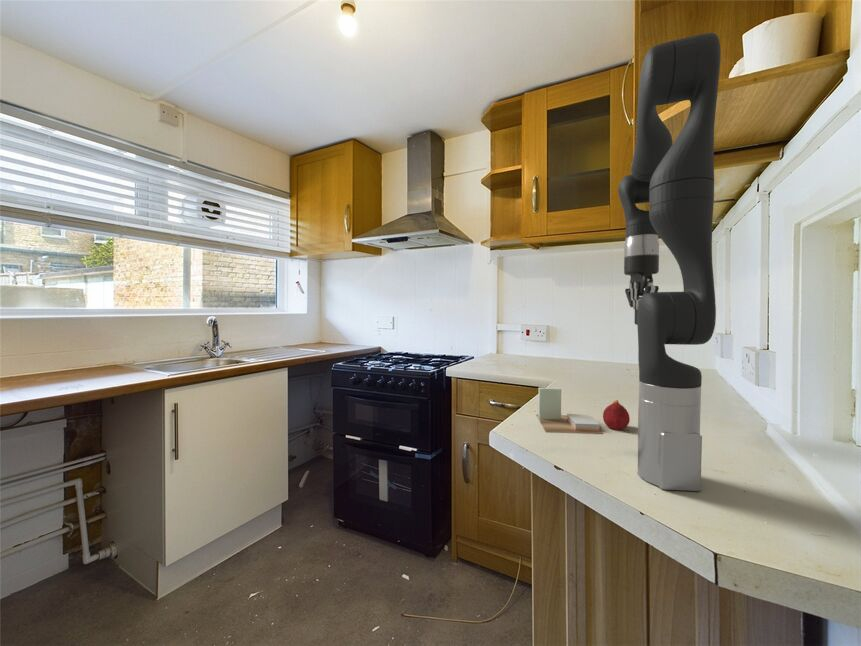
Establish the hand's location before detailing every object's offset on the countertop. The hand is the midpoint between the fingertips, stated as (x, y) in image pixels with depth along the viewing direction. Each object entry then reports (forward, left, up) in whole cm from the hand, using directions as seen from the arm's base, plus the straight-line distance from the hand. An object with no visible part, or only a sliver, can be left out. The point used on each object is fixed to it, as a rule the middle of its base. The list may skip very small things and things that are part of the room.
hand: (640, 324), depth 92 cm
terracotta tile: (0, +15, -24) cm, 28 cm away
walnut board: (-3, +18, -26) cm, 32 cm away
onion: (-5, +7, -26) cm, 28 cm away
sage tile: (+1, +22, -25) cm, 33 cm away
